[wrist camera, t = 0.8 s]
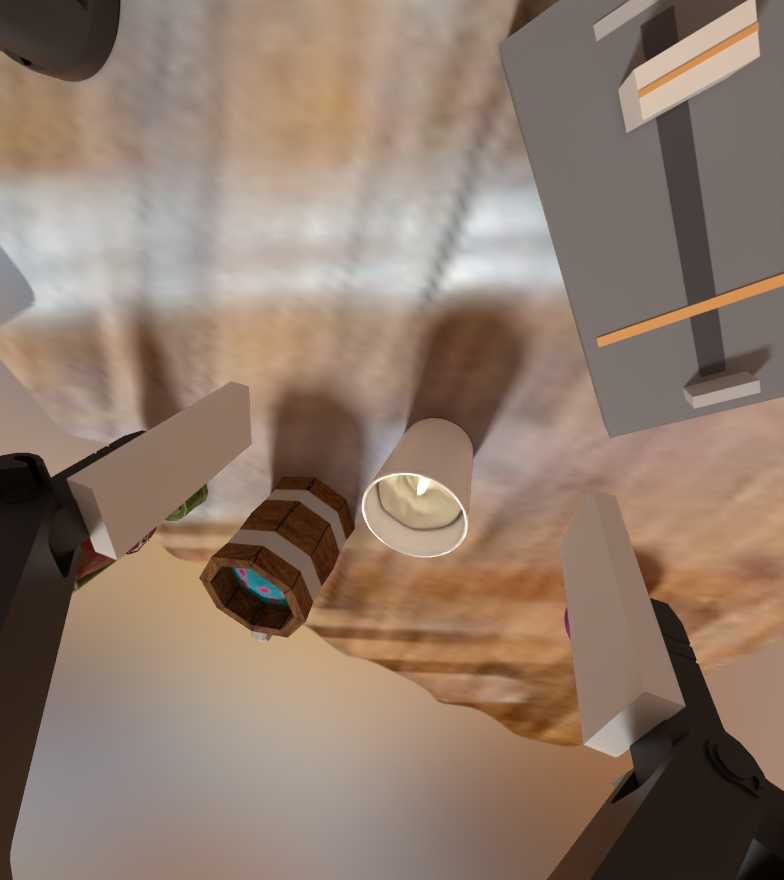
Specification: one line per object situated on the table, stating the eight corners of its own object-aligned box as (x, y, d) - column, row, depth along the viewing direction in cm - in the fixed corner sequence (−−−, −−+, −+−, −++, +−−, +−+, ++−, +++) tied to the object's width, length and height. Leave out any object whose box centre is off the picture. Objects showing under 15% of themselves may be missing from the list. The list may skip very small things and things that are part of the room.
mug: (270, 461, 53) (193, 538, 40) (361, 494, 51) (310, 584, 38) (268, 554, 63) (207, 636, 51) (343, 583, 62) (298, 676, 49)
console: (501, 60, 27) (497, 32, 23) (807, -160, 20) (884, -260, 15) (603, 422, 37) (614, 449, 33) (828, 365, 30) (877, 390, 26)
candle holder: (471, 404, 40) (455, 467, 30) (487, 481, 44) (477, 558, 34) (386, 417, 44) (346, 476, 34) (408, 486, 48) (379, 557, 38)
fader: (618, 89, 23) (634, 68, 20) (718, 29, 21) (756, -6, 18) (626, 133, 24) (643, 119, 21) (724, 79, 22) (761, 55, 19)
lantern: (207, 521, 64) (8, 717, 39) (152, 495, 65) (-78, 671, 40) (209, 459, 56) (-39, 654, 31) (146, 431, 57) (-144, 599, 32)
